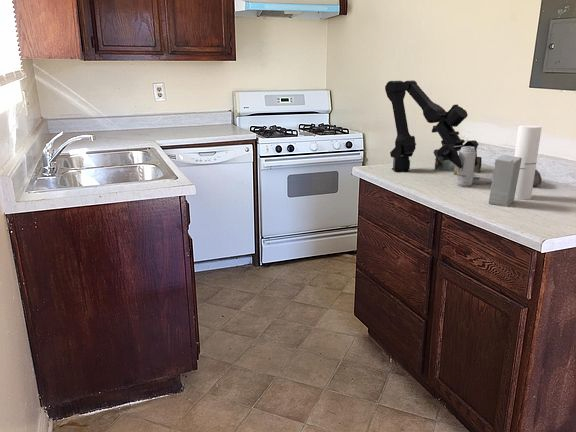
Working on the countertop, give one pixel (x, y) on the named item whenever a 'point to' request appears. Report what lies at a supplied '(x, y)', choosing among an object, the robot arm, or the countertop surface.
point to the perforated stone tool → (537, 179)
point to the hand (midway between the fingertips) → (468, 166)
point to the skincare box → (504, 180)
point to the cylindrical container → (527, 159)
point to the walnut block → (455, 170)
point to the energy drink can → (466, 166)
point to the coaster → (481, 181)
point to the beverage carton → (450, 166)
